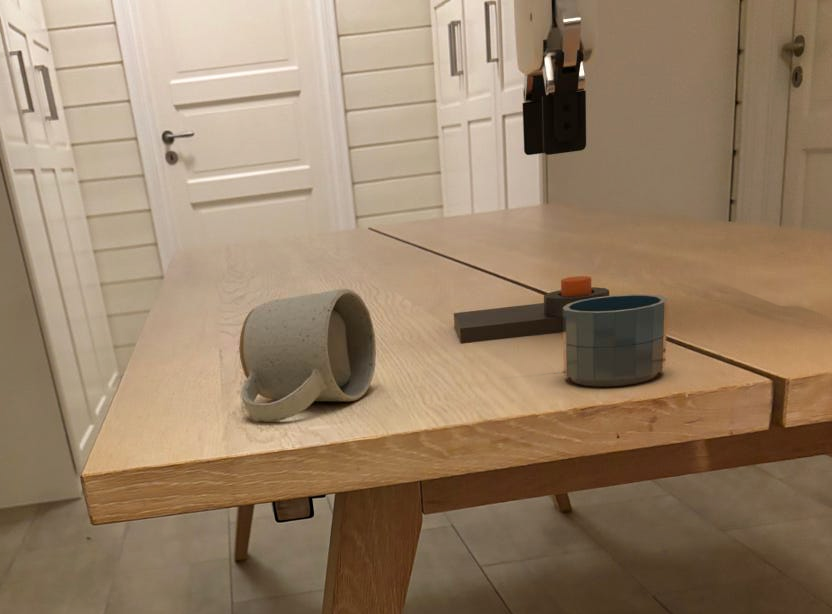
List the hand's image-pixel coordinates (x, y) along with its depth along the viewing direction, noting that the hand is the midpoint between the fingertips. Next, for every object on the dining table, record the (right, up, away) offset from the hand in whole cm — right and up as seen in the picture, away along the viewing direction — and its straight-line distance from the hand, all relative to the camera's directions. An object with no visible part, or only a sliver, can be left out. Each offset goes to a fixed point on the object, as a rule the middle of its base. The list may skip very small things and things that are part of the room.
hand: (553, 152), depth 78 cm
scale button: (+3, -9, +7) cm, 12 cm away
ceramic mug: (-20, -22, -7) cm, 31 cm away
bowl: (+2, -21, -10) cm, 24 cm away
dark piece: (0, -11, +10) cm, 15 cm away
